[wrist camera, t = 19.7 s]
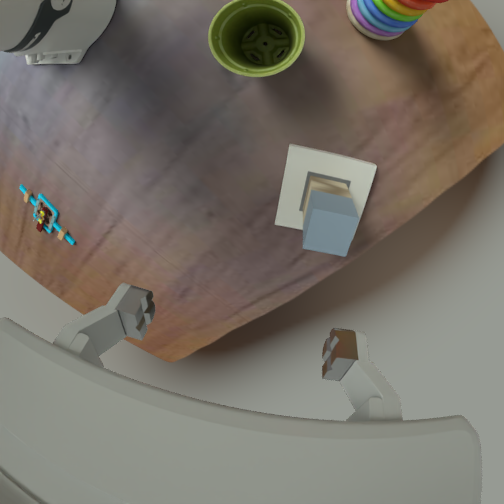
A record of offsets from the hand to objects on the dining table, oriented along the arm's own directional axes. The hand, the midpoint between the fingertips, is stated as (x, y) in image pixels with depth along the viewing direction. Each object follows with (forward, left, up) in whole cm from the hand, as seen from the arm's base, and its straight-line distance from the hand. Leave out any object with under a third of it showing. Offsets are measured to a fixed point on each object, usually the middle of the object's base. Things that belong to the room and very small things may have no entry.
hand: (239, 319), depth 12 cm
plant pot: (-4, +14, -29) cm, 33 cm away
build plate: (+7, -5, -29) cm, 30 cm away
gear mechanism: (-48, -18, -30) cm, 60 cm away
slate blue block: (+7, -5, -23) cm, 24 cm away
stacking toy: (+9, +22, -29) cm, 38 cm away
